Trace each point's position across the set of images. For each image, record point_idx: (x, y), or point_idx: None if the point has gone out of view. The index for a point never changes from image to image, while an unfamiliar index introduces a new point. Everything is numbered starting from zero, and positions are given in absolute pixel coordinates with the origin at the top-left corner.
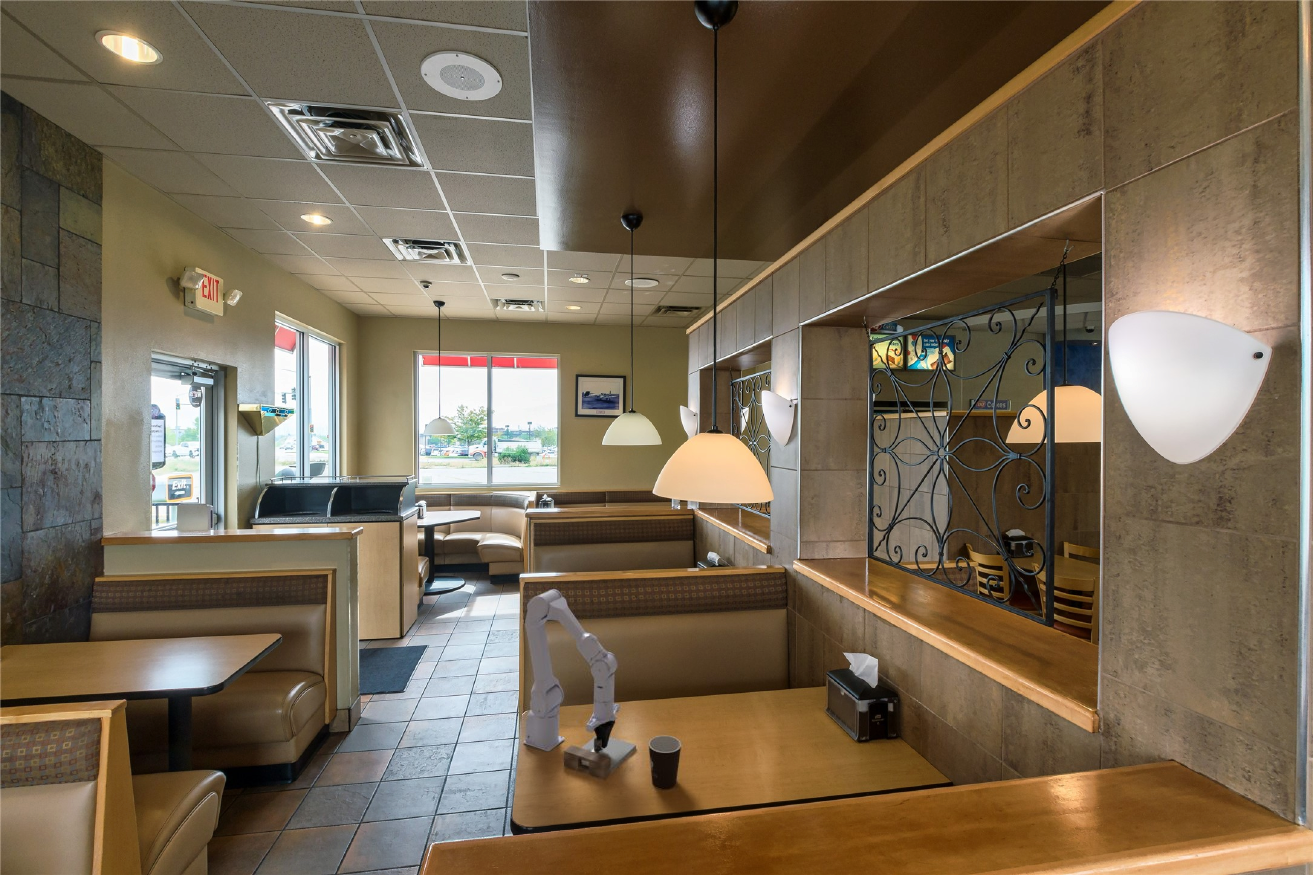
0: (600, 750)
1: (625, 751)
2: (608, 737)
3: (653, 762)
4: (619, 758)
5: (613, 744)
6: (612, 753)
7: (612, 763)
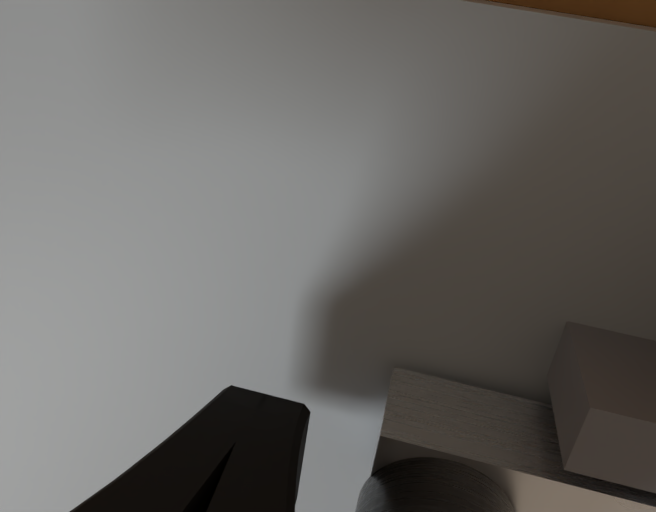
0: (467, 466)
1: (109, 15)
2: (152, 503)
3: None
4: (392, 32)
5: (38, 295)
6: (277, 228)
7: (625, 107)
